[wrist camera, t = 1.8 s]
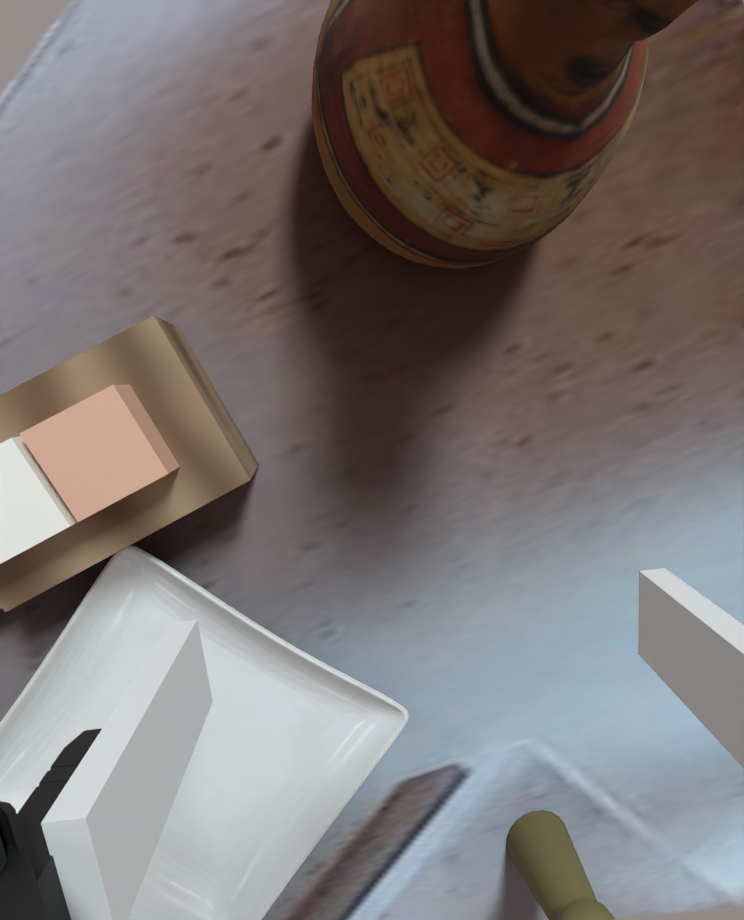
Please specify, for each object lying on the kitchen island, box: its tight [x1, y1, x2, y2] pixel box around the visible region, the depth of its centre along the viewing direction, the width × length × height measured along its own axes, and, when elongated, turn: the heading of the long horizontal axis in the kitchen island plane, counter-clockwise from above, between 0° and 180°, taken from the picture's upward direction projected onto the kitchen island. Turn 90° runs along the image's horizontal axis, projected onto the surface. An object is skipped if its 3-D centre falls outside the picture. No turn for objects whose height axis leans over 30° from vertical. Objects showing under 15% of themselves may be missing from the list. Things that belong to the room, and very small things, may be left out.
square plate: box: [0, 545, 409, 920], centre depth 43 cm, size 27×27×4 cm
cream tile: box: [0, 436, 77, 564], centre depth 32 cm, size 6×6×3 cm
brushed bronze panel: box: [0, 316, 259, 612], centre depth 37 cm, size 18×12×7 cm, turn 118°
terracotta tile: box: [19, 385, 180, 522], centre depth 32 cm, size 6×6×3 cm
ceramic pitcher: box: [312, 0, 698, 269], centre depth 26 cm, size 20×20×30 cm
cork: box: [506, 810, 615, 920], centre depth 45 cm, size 6×6×11 cm
